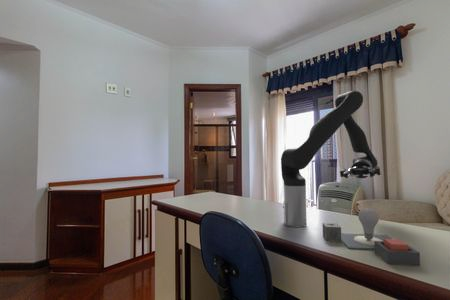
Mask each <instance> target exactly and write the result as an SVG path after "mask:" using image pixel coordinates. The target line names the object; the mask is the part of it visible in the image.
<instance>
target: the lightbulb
mask: <svg viewBox="0 0 450 300" xmlns="http://www.w3.org/2000/svg"><path fill="white" fill-rule="evenodd" d="M357 216H358V220H359V222H360V224H361V225H362V228H363V229H362V230H363V234H364V236H365V238H366V239H367V240H371V239H373V234H374V233H375V228H376V225H377V224H379V223H378V222H379V221H380V220H379V219H380V216H379V214H378V212H377V211H376V210H374V209H372V208H369V207H366V208H362V209H361V210H360V211H359V213H358V215H357Z"/></svg>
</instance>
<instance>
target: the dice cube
mask: <svg viewBox="0 0 450 300" xmlns="http://www.w3.org/2000/svg"><path fill="white" fill-rule="evenodd" d="M341 233H342V227H341V226H340V225H339V224H338V223H337V222H322V237H323V238H324V239H325V241H327V242H342V241H341Z"/></svg>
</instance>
